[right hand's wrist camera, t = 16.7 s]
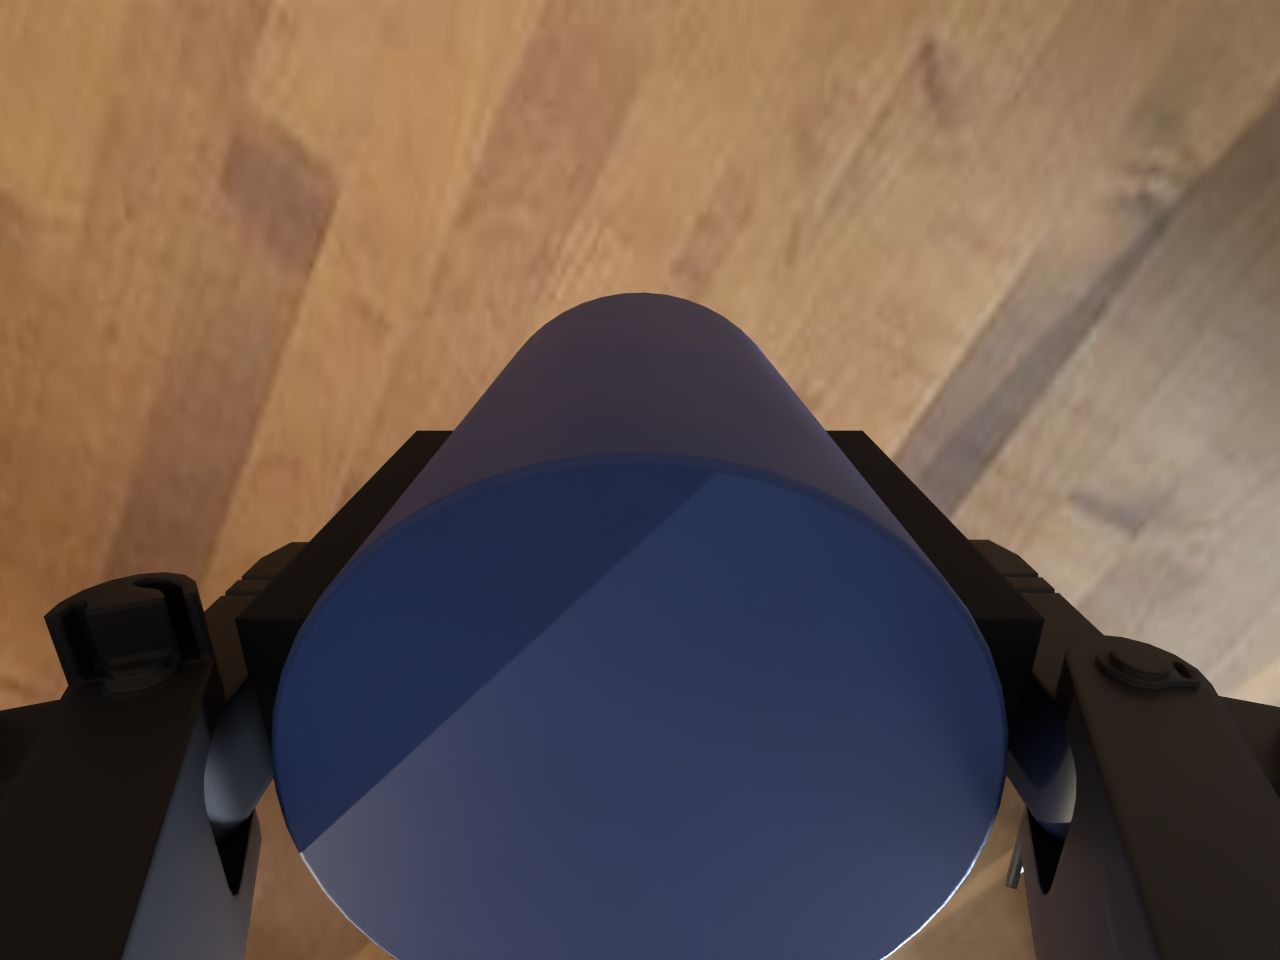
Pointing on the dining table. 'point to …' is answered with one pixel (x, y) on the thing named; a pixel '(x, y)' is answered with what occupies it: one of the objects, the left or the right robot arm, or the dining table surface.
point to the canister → (639, 677)
